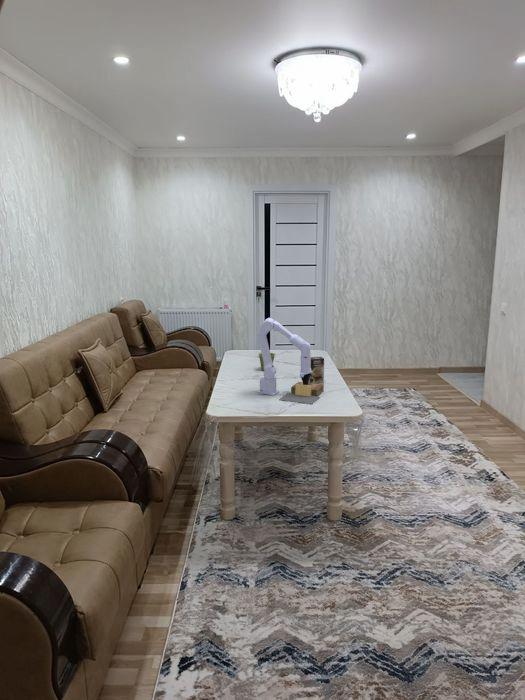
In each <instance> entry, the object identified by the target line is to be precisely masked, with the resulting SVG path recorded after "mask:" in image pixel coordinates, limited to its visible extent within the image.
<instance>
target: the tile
mask: <svg viewBox="0 0 525 700" xmlns="http://www.w3.org/2000/svg"><path fill="white" fill-rule="evenodd" d="M295 384H296V383H295ZM311 389H312V386H310V385H301V384H296V388H295V395H301V396H309V397H310V396H311Z"/></svg>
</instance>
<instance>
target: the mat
mask: <svg viewBox="0 0 525 700" xmlns="http://www.w3.org/2000/svg"><path fill="white" fill-rule="evenodd" d="M319 399H321V396H310V397H309V396H301V395H295V394H293V393H291V392H287V393H285V394H283V396H282V397H280V398H279V399H278V401H282V402H288V401H289V402H291V403H296V402H299V403H298V404H305V403H309V404H308V405H314V404H315V403H316V402H317V401H318V400H319ZM315 401H316V402H315ZM289 402H288V403H289ZM314 402H315V403H314ZM313 403H314V404H313Z"/></svg>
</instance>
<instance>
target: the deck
mask: <svg viewBox="0 0 525 700" xmlns="http://www.w3.org/2000/svg"><path fill="white" fill-rule="evenodd" d="M296 384H301V385H303V382H302V381H297V382H296V383H295V384H294V385H292V386H291V387H290V393H293V394H295V388H296ZM324 384H325V383H323V384H314V383H308V385H310V386H312V389H311V396H318V395H319V396H320V395H321V394H322V393H323V392H324V390H325V389H324V388H325V387H324ZM319 396H318V397H319Z"/></svg>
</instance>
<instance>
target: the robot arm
mask: <svg viewBox="0 0 525 700" xmlns="http://www.w3.org/2000/svg"><path fill="white" fill-rule="evenodd" d="M257 331H258V332H257V338H258V343H259V348H260V353H262V357H263V362H264V371H263V377H260V380H259V394H260V395H262V394H263V395H270V396H274V395H276V394H278V393H279V391H280V390H277V376H276V373H277V368H276V366H275V365H274V361H273V362H272V359H271V355H270V353H271V350H270V346H269V342H268V337H267V335H268V334H269V332H271V331H273V332H278V333H280V334H282V335H283V336H284V337H286V338H287V339H289V343H291V344H292V345H293V346H294V347H295V348H297V349H298V350H299V352H300V371H299V377H300V379H301V382H303V385H308V382H309V379H310V376H311V374H309V373H312V372H313V371H311V357H312V356H311V355H312V354H311V348H312V346H311V343H309V342H308V341H306V340H304V339H303V338H302V337H300V335H299V334H295V333H294V334H293V333H292V332H291V331H289V330H288V329H287V328H286V327H284V325H282V324H281V323H279V322H278V320H275V319H274V318H272V317H268V318H266V319H265V320H264V321H263V322H262V323H261V324H260V327H259V329H258V330H257Z"/></svg>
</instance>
